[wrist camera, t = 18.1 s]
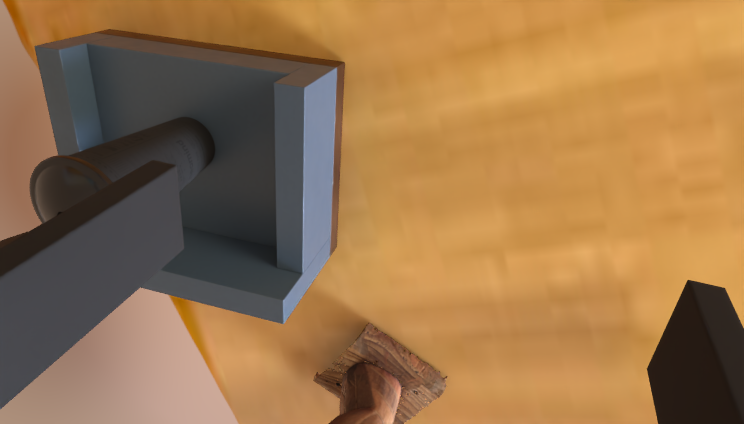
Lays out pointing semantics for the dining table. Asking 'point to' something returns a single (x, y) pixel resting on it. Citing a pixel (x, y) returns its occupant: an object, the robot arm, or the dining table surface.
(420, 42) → the dining table surface
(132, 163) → the drinking cup
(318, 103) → the sofa
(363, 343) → the bird sculpture
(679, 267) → the dining table surface
